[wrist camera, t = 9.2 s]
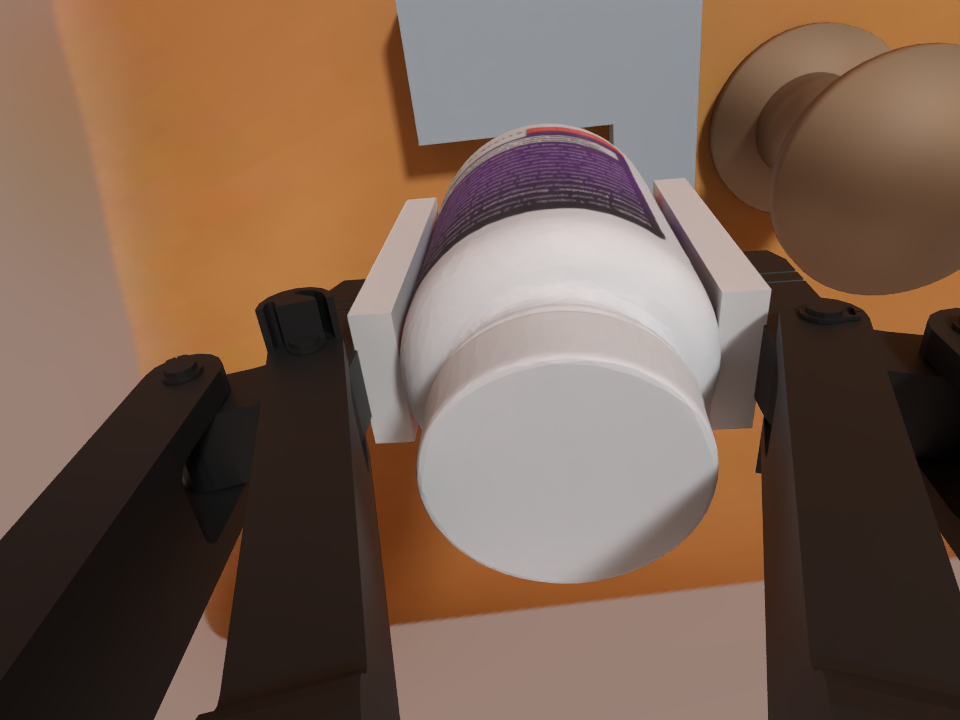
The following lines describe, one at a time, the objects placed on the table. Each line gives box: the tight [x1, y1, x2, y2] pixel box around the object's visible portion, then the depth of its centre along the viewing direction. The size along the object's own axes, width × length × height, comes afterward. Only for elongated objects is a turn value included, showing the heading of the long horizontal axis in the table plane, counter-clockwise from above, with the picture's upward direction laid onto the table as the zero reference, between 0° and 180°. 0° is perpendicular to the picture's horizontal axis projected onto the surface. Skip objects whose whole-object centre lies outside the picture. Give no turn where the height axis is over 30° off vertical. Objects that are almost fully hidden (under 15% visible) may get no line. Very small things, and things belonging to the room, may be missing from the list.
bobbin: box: [710, 23, 960, 295], centre depth 25 cm, size 8×8×10 cm
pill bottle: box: [400, 124, 721, 583], centre depth 13 cm, size 5×5×10 cm
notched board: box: [395, 0, 703, 195], centre depth 31 cm, size 18×12×2 cm, turn 7°
